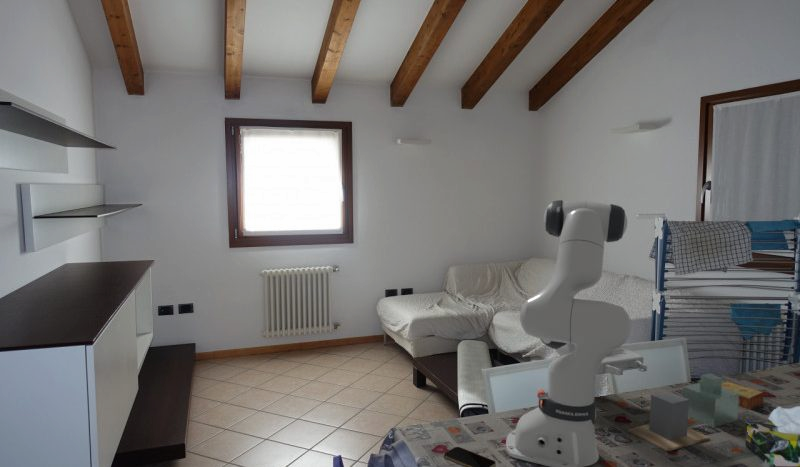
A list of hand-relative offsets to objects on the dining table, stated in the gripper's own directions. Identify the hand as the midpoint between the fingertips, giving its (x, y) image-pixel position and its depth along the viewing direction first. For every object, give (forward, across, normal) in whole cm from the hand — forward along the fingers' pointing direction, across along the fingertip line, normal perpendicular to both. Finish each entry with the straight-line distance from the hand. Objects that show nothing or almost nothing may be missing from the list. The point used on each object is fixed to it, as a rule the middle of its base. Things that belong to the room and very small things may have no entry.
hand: (633, 370), depth 149 cm
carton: (+2, +41, +13) cm, 43 cm away
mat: (+11, +1, +14) cm, 18 cm away
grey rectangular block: (+11, +1, +14) cm, 18 cm away
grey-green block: (+8, +22, +14) cm, 27 cm away
